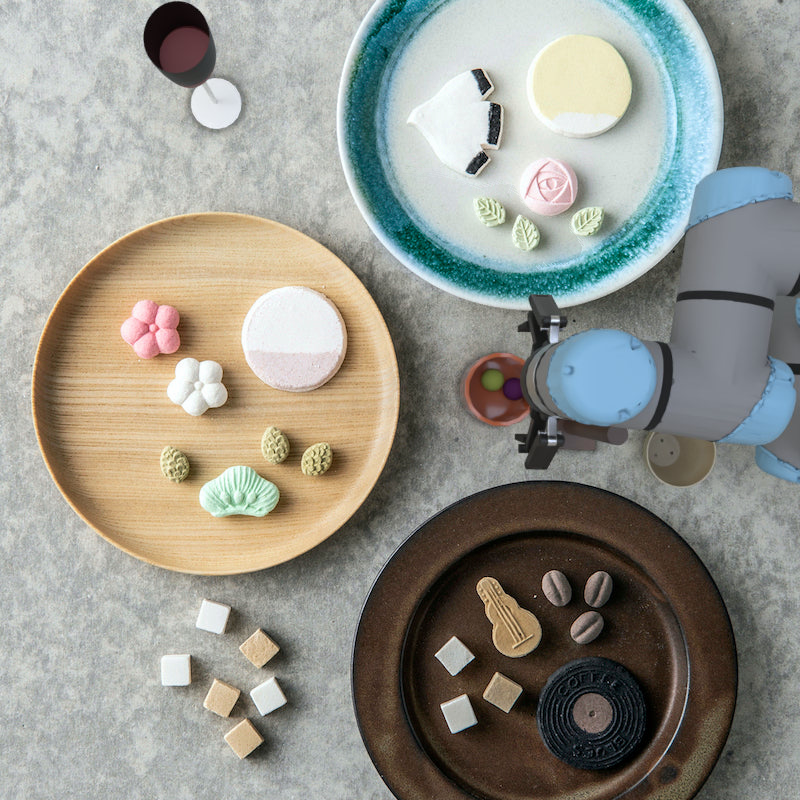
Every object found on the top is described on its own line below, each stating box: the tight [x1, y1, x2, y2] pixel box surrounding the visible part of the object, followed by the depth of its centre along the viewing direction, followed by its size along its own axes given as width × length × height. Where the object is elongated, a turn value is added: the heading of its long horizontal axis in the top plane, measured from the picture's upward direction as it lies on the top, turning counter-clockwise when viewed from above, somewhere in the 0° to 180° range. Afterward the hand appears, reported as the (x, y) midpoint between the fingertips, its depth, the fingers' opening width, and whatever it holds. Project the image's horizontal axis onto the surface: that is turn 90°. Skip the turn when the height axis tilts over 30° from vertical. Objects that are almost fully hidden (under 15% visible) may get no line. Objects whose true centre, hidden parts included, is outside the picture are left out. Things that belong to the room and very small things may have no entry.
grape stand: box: [557, 419, 629, 451], centre depth 97 cm, size 7×7×22 cm
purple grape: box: [503, 378, 523, 401], centre depth 105 cm, size 3×3×3 cm
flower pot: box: [642, 431, 717, 489], centre depth 105 cm, size 10×10×7 cm
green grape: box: [481, 368, 504, 391], centre depth 105 cm, size 3×3×3 cm
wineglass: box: [142, 0, 243, 130], centre depth 96 cm, size 8×9×20 cm
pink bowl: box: [458, 352, 530, 427], centre depth 104 cm, size 10×10×8 cm
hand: (526, 383), depth 91 cm, fingers open, 13 cm apart
